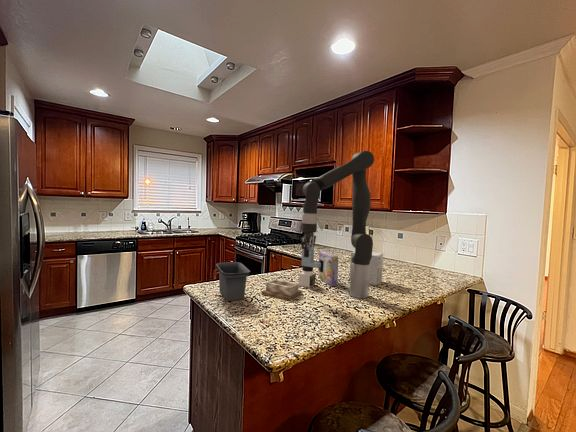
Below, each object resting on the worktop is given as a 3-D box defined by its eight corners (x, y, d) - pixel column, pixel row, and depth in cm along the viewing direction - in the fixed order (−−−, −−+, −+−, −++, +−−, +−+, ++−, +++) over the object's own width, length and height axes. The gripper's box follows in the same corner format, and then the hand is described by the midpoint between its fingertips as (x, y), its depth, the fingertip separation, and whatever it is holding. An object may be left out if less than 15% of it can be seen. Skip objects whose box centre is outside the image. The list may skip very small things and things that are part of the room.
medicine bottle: (309, 287, 165) (310, 266, 164) (298, 285, 169) (299, 264, 168) (315, 285, 171) (316, 264, 171) (304, 282, 175) (305, 262, 174)
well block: (301, 293, 155) (302, 282, 155) (289, 300, 143) (289, 289, 142) (275, 287, 162) (276, 277, 162) (261, 294, 150) (262, 283, 150)
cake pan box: (316, 277, 187) (318, 250, 186) (324, 277, 189) (325, 250, 188) (330, 286, 169) (331, 256, 168) (337, 286, 171) (339, 256, 170)
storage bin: (251, 301, 139) (252, 271, 138) (218, 304, 133) (219, 273, 132) (239, 288, 158) (240, 261, 158) (209, 290, 152) (210, 263, 151)
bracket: (320, 266, 147) (321, 247, 146) (318, 268, 144) (319, 247, 143) (304, 264, 151) (305, 244, 151) (301, 265, 148) (302, 245, 148)
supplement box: (382, 281, 187) (384, 253, 186) (376, 286, 176) (378, 256, 175) (355, 276, 196) (357, 249, 195) (348, 280, 185) (350, 252, 184)
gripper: (310, 223, 139) (308, 259, 140) (321, 222, 152) (320, 255, 153) (296, 222, 143) (294, 257, 144) (308, 221, 155) (306, 253, 156)
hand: (307, 256), depth 148 cm, fingers closed on bracket, 3 cm apart
